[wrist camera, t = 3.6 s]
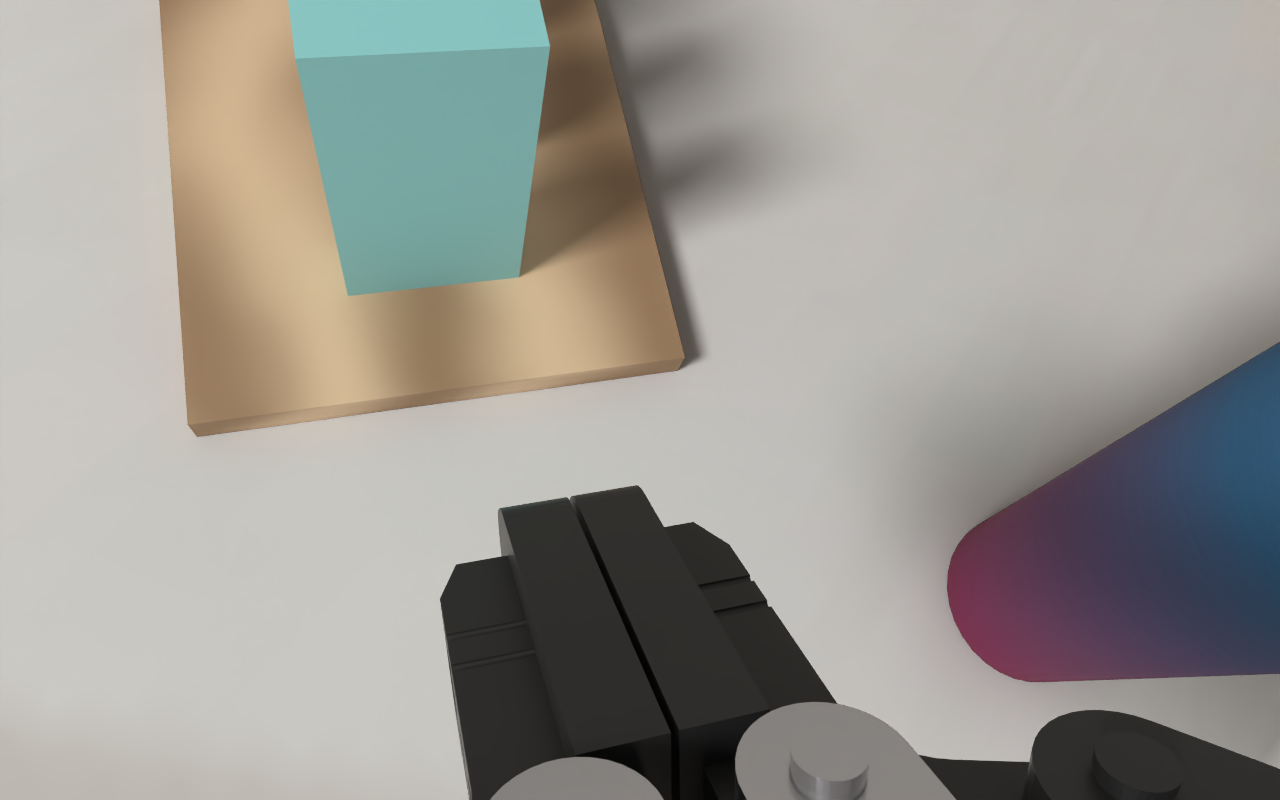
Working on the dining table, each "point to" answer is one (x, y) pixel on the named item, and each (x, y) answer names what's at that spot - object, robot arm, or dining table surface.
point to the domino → (423, 133)
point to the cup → (1141, 550)
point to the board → (406, 319)
